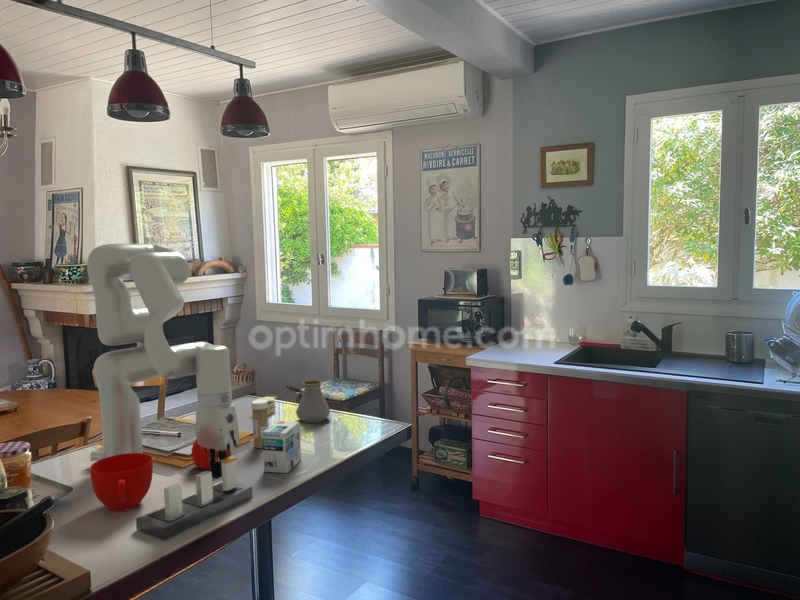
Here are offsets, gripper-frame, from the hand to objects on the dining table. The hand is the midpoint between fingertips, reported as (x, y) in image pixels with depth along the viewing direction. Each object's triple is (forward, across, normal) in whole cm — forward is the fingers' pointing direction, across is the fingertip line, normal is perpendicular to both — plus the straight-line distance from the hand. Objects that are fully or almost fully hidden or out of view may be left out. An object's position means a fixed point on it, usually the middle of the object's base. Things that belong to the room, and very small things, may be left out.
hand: (218, 476), depth 139 cm
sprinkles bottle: (+5, +18, -32) cm, 37 cm away
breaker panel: (+5, -2, +8) cm, 10 cm away
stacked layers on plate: (+6, +42, -58) cm, 72 cm away
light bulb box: (+5, +1, -23) cm, 23 cm away
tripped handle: (+2, -4, 0) cm, 4 cm away
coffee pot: (+5, +21, -55) cm, 59 cm away
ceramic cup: (+5, +14, +15) cm, 21 cm away
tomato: (+5, +18, -13) cm, 23 cm away
